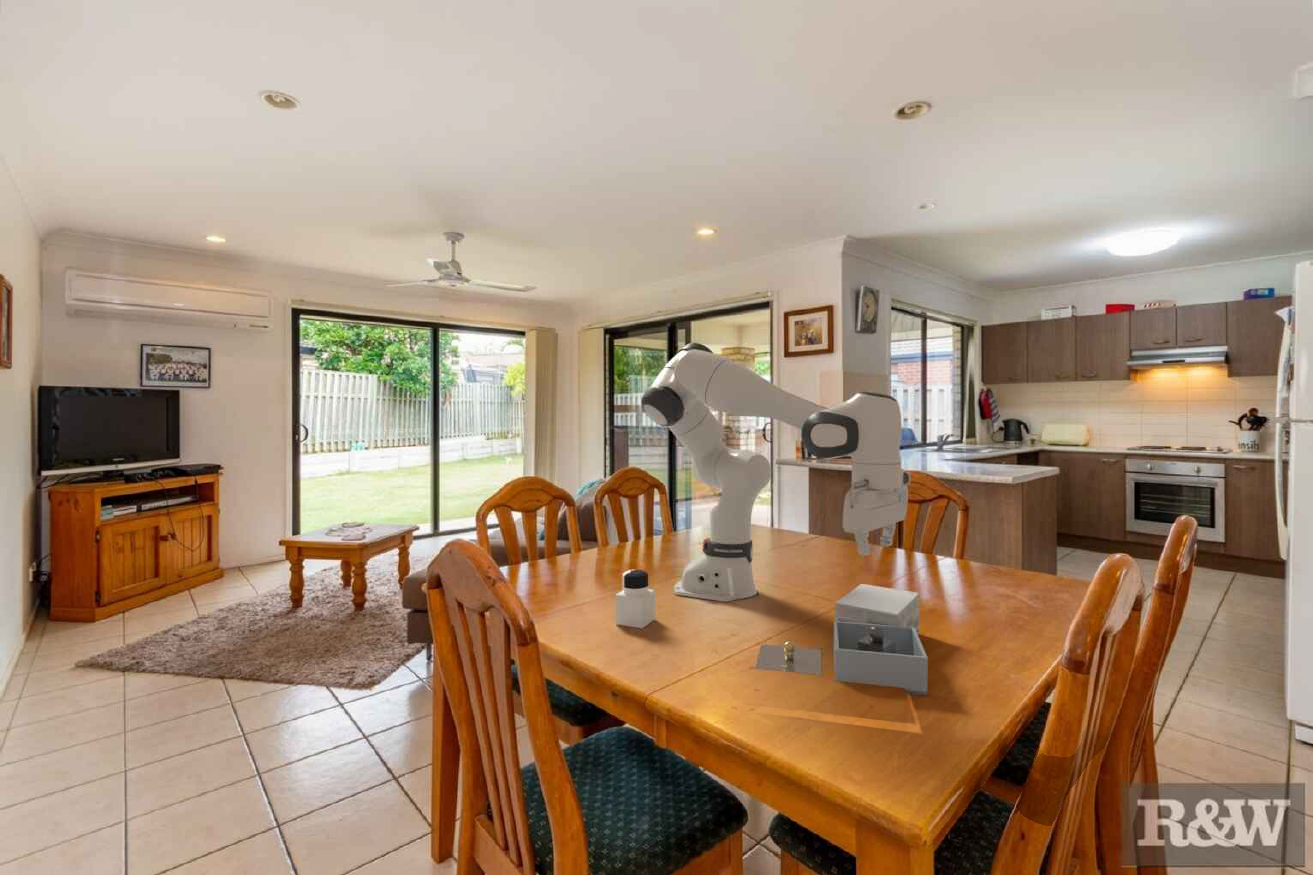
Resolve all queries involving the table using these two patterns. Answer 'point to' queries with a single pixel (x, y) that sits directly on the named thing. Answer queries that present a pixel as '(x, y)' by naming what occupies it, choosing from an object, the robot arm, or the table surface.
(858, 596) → the supplement box
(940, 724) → the table surface
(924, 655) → the bin
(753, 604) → the table surface
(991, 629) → the table surface
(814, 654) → the stud base
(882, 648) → the strut socket
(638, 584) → the medicine bottle
